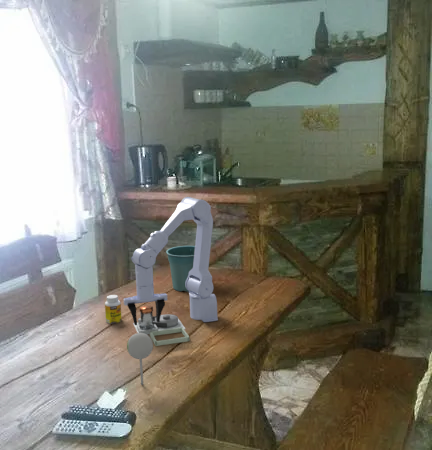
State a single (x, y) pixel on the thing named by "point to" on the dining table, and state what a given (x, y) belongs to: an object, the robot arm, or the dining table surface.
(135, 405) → the dining table surface
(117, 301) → the supplement bottle
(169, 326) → the pulley board
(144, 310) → the pin
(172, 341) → the tray
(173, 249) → the flower pot
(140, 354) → the lollipop
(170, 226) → the robot arm
